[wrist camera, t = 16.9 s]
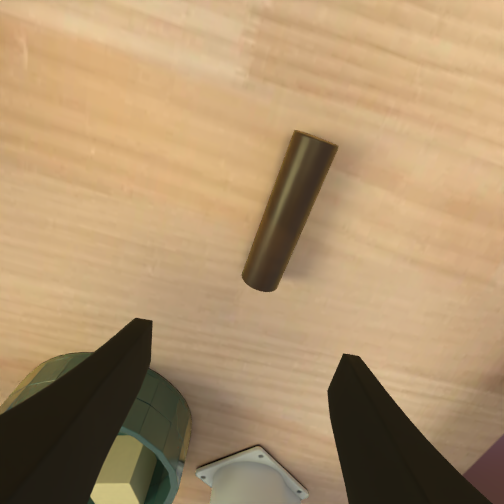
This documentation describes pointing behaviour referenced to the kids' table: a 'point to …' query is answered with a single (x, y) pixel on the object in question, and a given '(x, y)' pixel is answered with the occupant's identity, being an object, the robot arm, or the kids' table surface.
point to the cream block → (125, 473)
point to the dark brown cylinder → (288, 209)
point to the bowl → (133, 421)
